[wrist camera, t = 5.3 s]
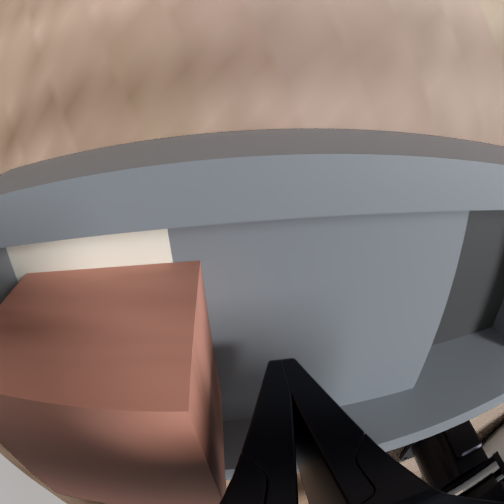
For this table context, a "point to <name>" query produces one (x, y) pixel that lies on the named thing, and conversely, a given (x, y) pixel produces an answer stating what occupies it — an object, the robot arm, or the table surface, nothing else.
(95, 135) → the table surface
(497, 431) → the serving bowl
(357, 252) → the compartment box
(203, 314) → the block
